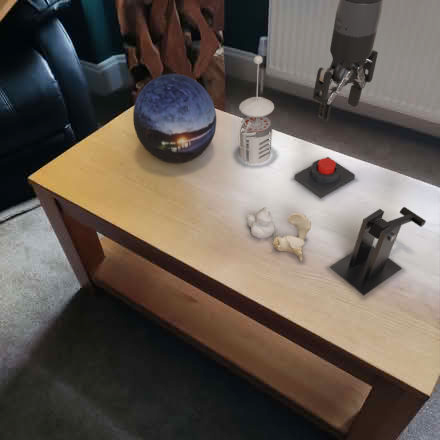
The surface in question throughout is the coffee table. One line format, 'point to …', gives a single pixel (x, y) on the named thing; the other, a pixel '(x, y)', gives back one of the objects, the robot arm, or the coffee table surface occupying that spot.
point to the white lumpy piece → (261, 223)
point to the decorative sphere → (174, 118)
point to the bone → (293, 242)
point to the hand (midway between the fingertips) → (338, 111)
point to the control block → (323, 179)
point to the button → (326, 166)
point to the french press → (256, 127)
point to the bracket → (369, 257)
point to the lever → (406, 218)
